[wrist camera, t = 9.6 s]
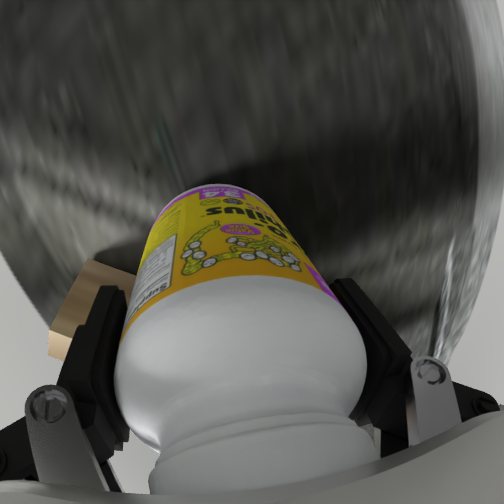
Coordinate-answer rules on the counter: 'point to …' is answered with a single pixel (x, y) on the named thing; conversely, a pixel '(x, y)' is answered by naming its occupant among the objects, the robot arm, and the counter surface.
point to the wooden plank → (84, 303)
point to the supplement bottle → (237, 353)
